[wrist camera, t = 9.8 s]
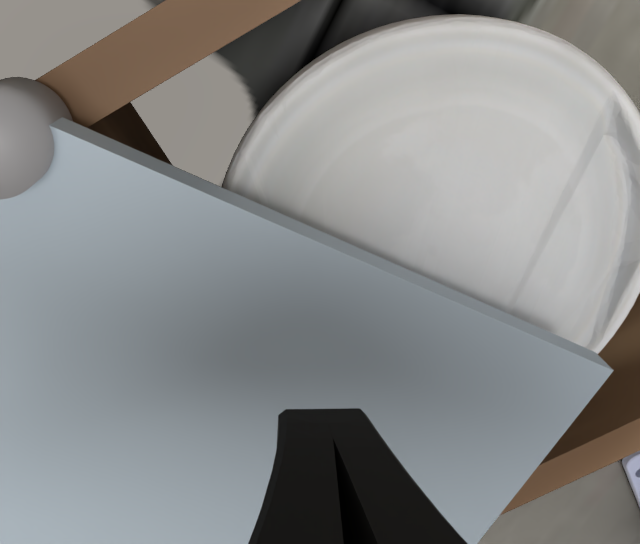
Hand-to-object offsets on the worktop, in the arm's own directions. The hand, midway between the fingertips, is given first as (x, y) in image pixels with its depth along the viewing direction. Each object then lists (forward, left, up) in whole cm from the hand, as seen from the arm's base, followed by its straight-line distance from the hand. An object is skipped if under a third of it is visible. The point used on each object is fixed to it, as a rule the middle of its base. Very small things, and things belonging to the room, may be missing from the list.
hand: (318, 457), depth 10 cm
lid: (-3, +5, -5) cm, 7 cm away
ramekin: (-1, -4, -11) cm, 11 cm away
